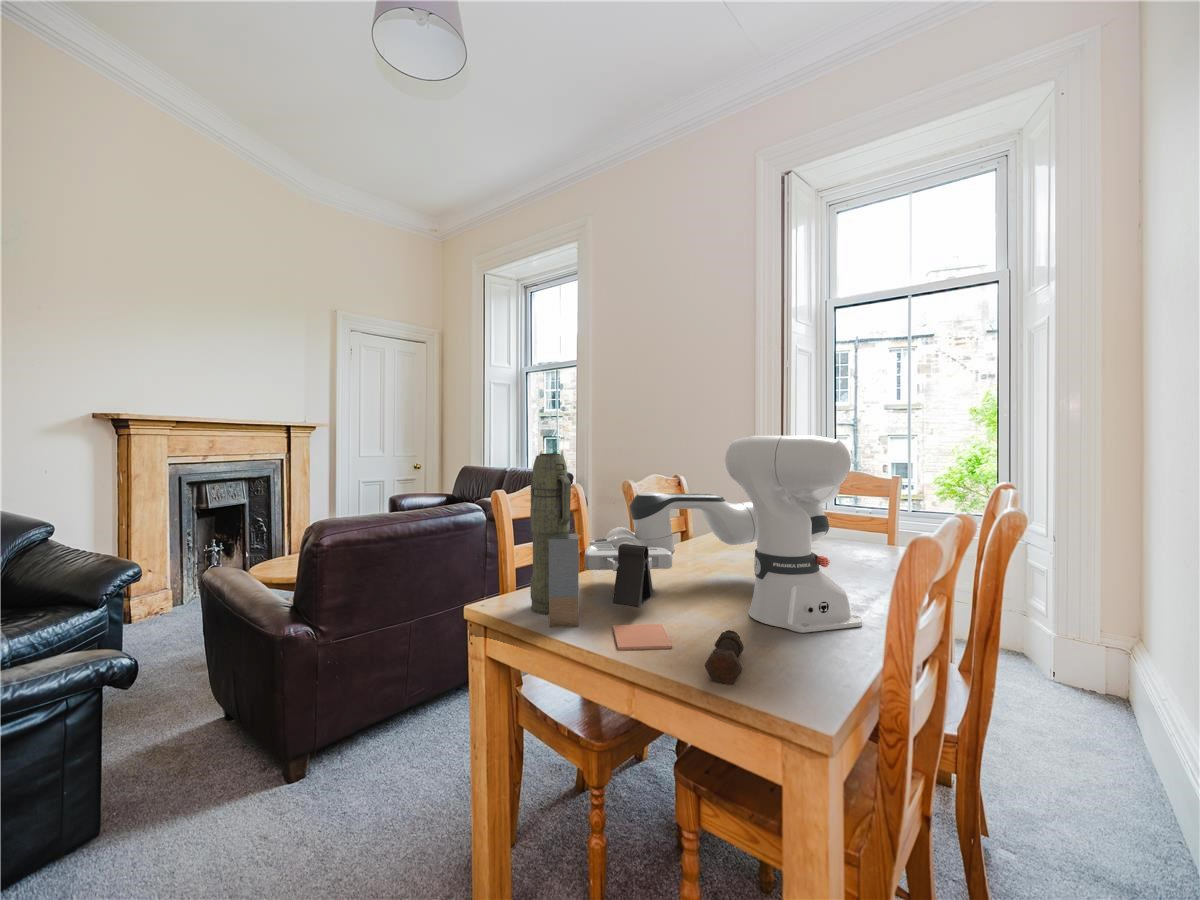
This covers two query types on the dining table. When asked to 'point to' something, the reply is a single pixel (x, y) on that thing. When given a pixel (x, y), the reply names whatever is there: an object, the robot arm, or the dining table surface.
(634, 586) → the black folding stand
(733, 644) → the bolt
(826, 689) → the dining table surface
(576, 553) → the rectangular metal block
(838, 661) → the dining table surface
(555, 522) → the thermos
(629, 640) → the terracotta tile
